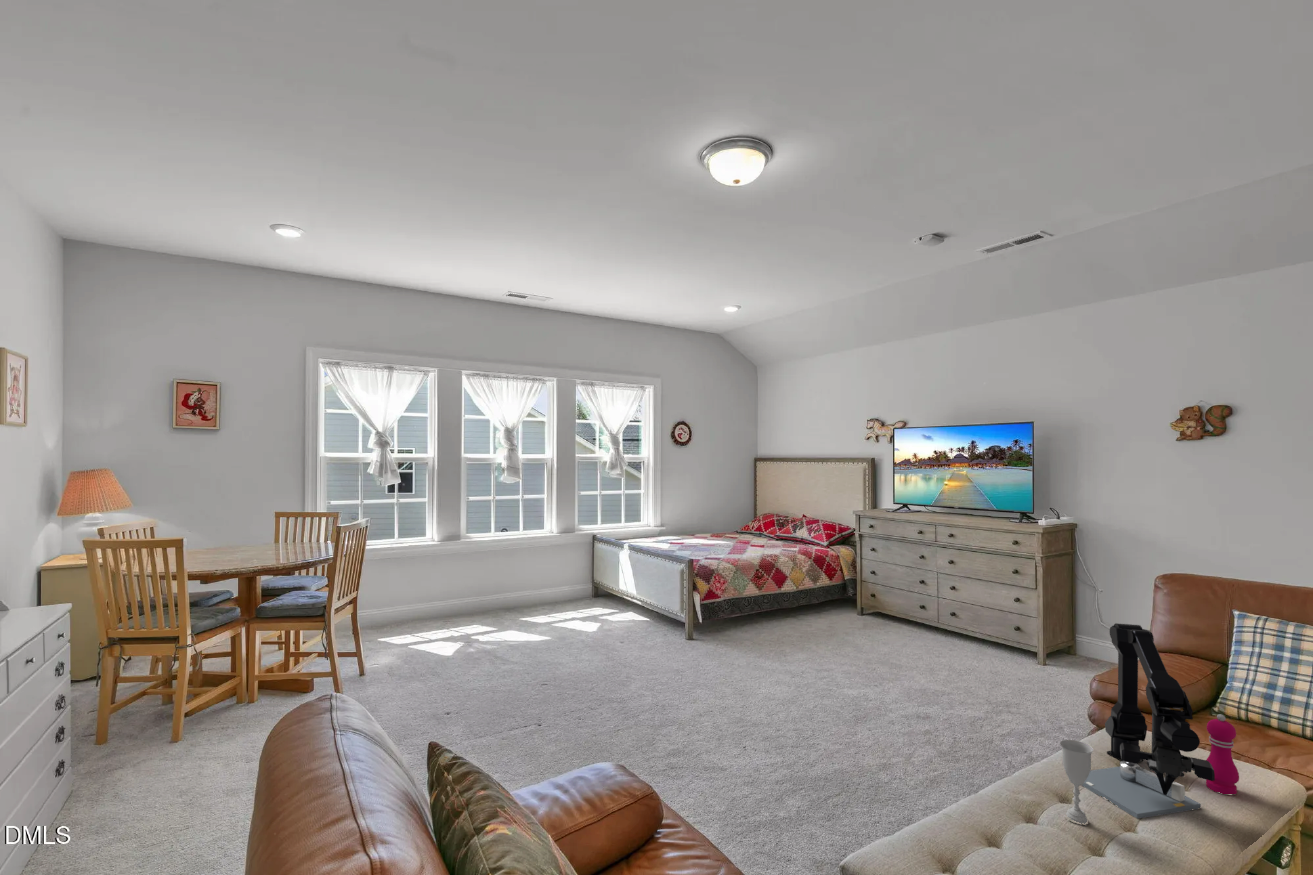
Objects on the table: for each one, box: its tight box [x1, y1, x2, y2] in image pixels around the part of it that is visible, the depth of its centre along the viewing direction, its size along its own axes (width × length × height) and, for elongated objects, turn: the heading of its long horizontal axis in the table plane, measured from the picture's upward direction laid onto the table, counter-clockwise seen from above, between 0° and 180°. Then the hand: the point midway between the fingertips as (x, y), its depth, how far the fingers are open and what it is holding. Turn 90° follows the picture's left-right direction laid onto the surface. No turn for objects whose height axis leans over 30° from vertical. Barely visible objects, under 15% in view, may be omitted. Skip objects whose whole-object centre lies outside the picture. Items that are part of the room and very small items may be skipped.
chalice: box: [1059, 739, 1094, 824], centre depth 160 cm, size 7×7×18 cm
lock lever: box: [1119, 760, 1186, 802], centre depth 173 cm, size 15×4×4 cm, turn 24°
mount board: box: [1081, 766, 1202, 820], centre depth 173 cm, size 20×20×1 cm
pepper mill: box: [1205, 714, 1240, 795], centre depth 174 cm, size 7×7×20 cm
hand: (1164, 793), depth 167 cm, fingers closed
